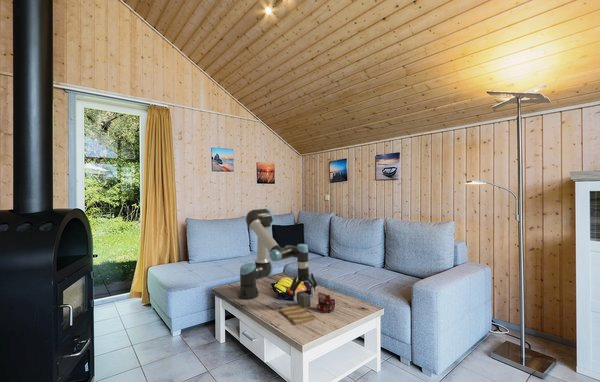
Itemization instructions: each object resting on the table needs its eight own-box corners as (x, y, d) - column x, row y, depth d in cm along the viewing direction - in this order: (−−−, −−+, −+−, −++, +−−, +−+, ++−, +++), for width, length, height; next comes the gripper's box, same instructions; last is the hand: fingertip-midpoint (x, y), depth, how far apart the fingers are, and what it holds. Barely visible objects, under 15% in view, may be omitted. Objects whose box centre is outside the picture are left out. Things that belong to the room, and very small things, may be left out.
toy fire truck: (329, 314, 183) (328, 298, 183) (315, 308, 192) (314, 293, 192) (336, 311, 188) (335, 295, 188) (322, 305, 197) (321, 290, 197)
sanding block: (297, 304, 200) (297, 292, 200) (304, 303, 203) (303, 291, 202) (303, 309, 192) (303, 297, 192) (310, 307, 195) (310, 295, 195)
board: (280, 311, 189) (280, 309, 189) (298, 307, 195) (298, 304, 195) (295, 324, 170) (295, 322, 170) (314, 319, 176) (314, 317, 176)
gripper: (288, 271, 188) (289, 304, 188) (321, 265, 200) (322, 296, 200) (284, 268, 195) (285, 300, 195) (316, 263, 206) (317, 293, 206)
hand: (304, 298), depth 197 cm, fingers open, 13 cm apart
